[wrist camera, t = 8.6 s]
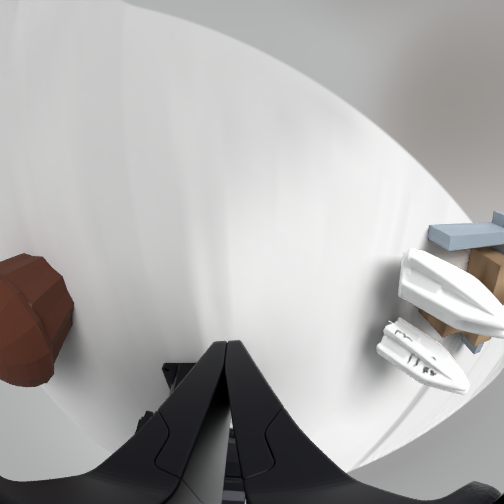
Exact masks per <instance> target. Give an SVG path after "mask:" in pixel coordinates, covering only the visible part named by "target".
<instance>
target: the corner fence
mask: <svg viewBox="0 0 504 504" xmlns="http://www.w3.org/2000/svg"><path fill="white" fill-rule="evenodd" d="M428 239H429V240H431V241H433V242H434V243H436V244H438V245H439V246H441V247H443V248H444V249H446V250H447V251H453V250H461V249H469V248H477V247H485V246H489V247H491V248H493V249H494V250H496V251H498V252H500V253H501V254H503V255H504V213H503V212H500V211H494V213H493V221H492V222H491V223H490V222H489V223H465V224H444V225H429V234H428ZM462 341H463V343H464V344H465V345H466V346H467V347H468V348H469V349H470V350H471V352H472V353H473V354H476V353H478V352H480V350H481V348H482V346H483V344H484V342H483V343H481V344H479V345H477V346H473V345H472V344H471V343H470V342H469V341H468V340H467V338H466V337H465V336H464V335H463V337H462Z"/></svg>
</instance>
